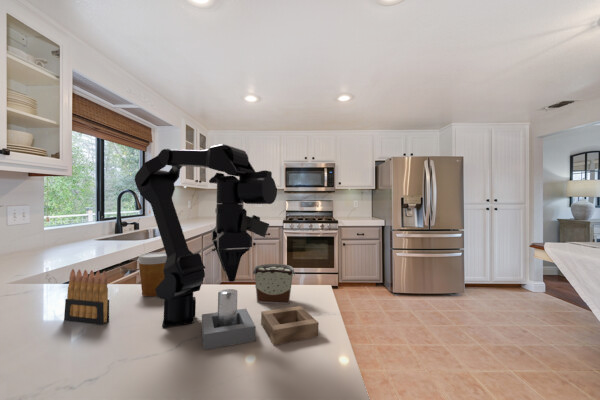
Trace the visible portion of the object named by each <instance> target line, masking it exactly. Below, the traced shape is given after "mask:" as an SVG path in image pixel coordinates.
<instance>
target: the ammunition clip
mask: <svg viewBox="0 0 600 400" xmlns="http://www.w3.org/2000/svg"><path fill="white" fill-rule="evenodd" d="M69 274H70V275H69V277H68V278H69V280H68V286H67V297H66V298H65V301H64V303H65V304H64V316H63V321H64V322H72V323H81V324H90V325H98V326H99V325H100V326H101V325H105V324H107V323H108V322H110V299H109V287H108V276H107V273H106V271H105V270H104V271H103V272H102V274H101V273H100V271H99V270H97V271H96V273H94V270H93V269H92V270H90V271H89V273H88V271H87V269H85V270H84V271H83V273H82V271H81V269H80V268H79V269H78V270H77V271H75V269H74V268H73V269H71V271H70V273H69Z"/></svg>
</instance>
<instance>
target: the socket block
mask: <svg viewBox="0 0 600 400" xmlns="http://www.w3.org/2000/svg"><path fill="white" fill-rule="evenodd" d="M217 325H218V311H217V312H209V313H202V314H201V336H202V348H203V351H206V350H211V349H213V350H214V349H218V347H219V348H223V347H228V346H235V345H240V344H244V343H251V342H255V341H256V325H255V322H254V321H253V319H252V317H251V315H250V313H249V311H248V309H247V308H239V309H237V325H231V326H225V327H218V328H217Z"/></svg>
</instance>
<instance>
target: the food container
mask: <svg viewBox="0 0 600 400" xmlns="http://www.w3.org/2000/svg"><path fill="white" fill-rule="evenodd" d="M252 275H254V281H255V293H256V303H265V304H266V303H267V304H282V305H289V304H290V300H291V290H292V281H293V275H294V277H295V276H296V275H295V270H294V268H293V266H291V265H289V264H282V263H265V264H260V265H257V266H254V269H252Z"/></svg>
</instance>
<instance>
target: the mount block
mask: <svg viewBox="0 0 600 400" xmlns="http://www.w3.org/2000/svg"><path fill="white" fill-rule="evenodd" d="M260 313H261V314H260V315H261V316H260V325H261V327H262V329H263V330H264V331H265V333H266V335H267V337H268V338H269V340H270V343H271V345H273V346H276V345H282V344H287V343H292V342H293V343H294V342H297V341H302V340H308V339H313V338H317V337H319V324H320V323H319V322H318V320H317V319H315V318H314V317H313V316H312V315H311V314H310V313H309V312H308V311H306V310H305V308H303V307H302V305H299V306H291V307H283V308H277V309H270V310H262V311H261V312H260Z"/></svg>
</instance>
